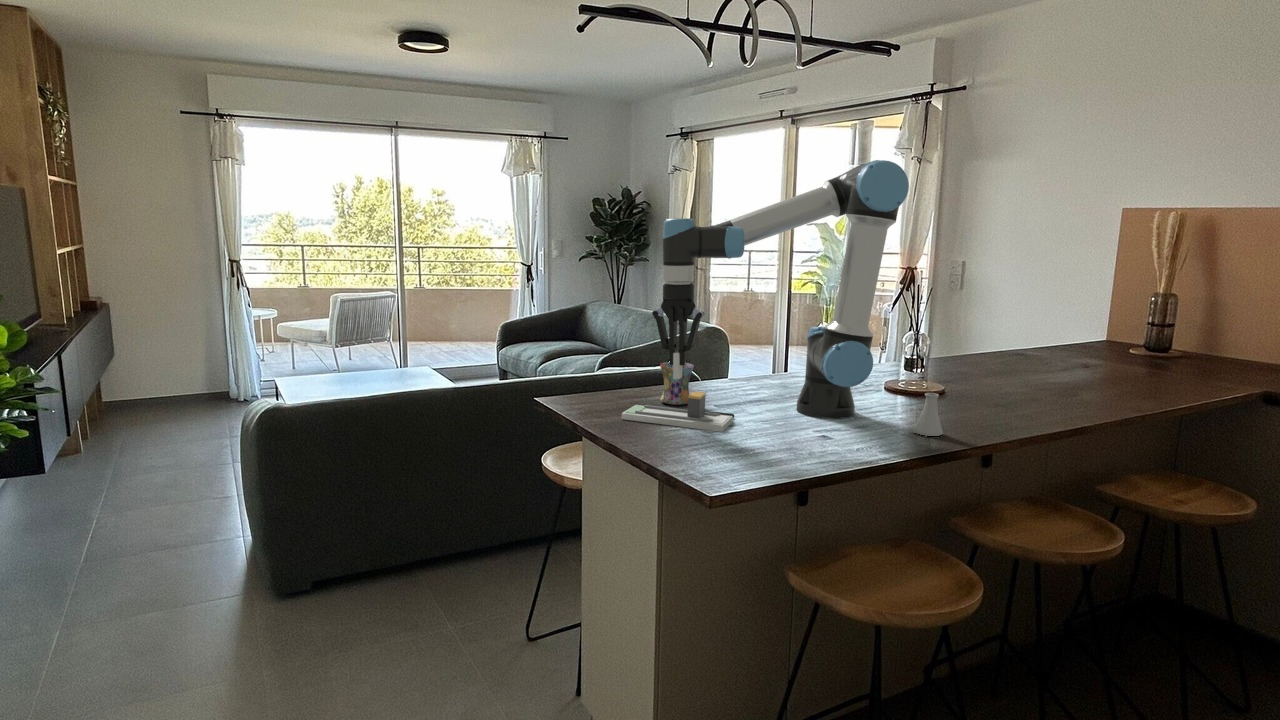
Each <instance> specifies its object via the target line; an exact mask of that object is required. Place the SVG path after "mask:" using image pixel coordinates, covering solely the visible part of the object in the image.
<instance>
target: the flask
mask: <svg viewBox="0 0 1280 720" xmlns="http://www.w3.org/2000/svg"><path fill="white" fill-rule="evenodd" d="M924 396H925V400H924V405H923V409H922V411H921V413H920V415H919V416H918V419H917V421H916V423H915V425H914V426H913V428H912V432H913V431H914V433H918V434H921V435H926V436H925V437H927V435H928V436H939V435H942V434H943V435H944V432H943V428H942V424H941V420H940V416H939V411H938V398H939V397H940V395H939V393H935V392H926V393H924ZM914 433H913V434H914ZM918 434H917V435H918ZM921 435H920V436H921Z"/></svg>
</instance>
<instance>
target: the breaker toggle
mask: <svg viewBox="0 0 1280 720" xmlns="http://www.w3.org/2000/svg"><path fill="white" fill-rule="evenodd" d="M706 395H707V393H706V392H702V391H692V392H691V393H689V395H688V404H687V409H688V414H687V417H693V418H701V417H702V416H704V415H705V411H706V397H707V396H706Z"/></svg>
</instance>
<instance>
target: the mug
mask: <svg viewBox="0 0 1280 720" xmlns="http://www.w3.org/2000/svg"><path fill="white" fill-rule="evenodd" d="M659 366H660V369H661V371H662V376H663V391H662V395H661V396H660V401H661V402H662V403H664V404H667V405H672V406H683V405H688V395H690V390H689V389H690V388H689V384H690V379H691V375H692V373H693V370H694V368H695V365H694V364H692V363H688V362H686V364H685V365H682V378H680V379H673V365H670V361H667V362H662V363H660V364H659Z"/></svg>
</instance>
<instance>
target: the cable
mask: <svg viewBox="0 0 1280 720" xmlns="http://www.w3.org/2000/svg"><path fill="white" fill-rule="evenodd" d="M657 406H658V405H657ZM658 407H660V406H658ZM665 407H666V408H671V407H669V406H665ZM674 408H675V409H681V407H680V408H679V407H674ZM682 409H683V410H688V408H687V409H686V408H682ZM705 412H709V413H717V414H720V415H727V416H733V419H734V418H735V414H734V413H727V412H717V411H709V410H705Z"/></svg>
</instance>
